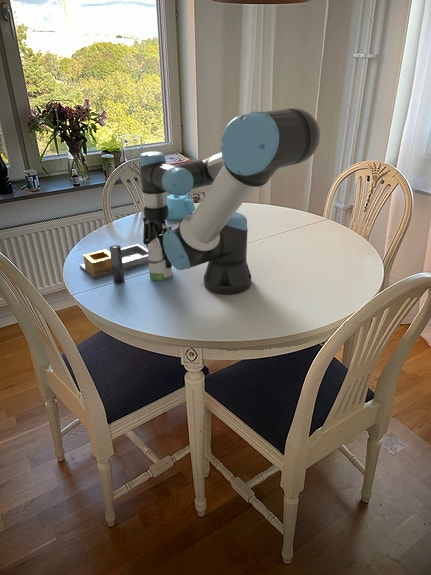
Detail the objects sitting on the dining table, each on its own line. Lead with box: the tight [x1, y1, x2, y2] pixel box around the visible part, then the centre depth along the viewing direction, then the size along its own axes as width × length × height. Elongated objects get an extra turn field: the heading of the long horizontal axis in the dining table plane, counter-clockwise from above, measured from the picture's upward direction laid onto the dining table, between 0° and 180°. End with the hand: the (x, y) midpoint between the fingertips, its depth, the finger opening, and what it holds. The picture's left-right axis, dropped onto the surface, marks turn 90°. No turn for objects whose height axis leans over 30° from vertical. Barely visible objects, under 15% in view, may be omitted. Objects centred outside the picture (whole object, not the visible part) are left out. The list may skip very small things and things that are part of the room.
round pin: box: [109, 244, 126, 285], centre depth 141 cm, size 3×3×12 cm
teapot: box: [165, 192, 196, 221], centre depth 197 cm, size 15×15×11 cm
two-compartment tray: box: [79, 243, 149, 281], centre depth 154 cm, size 12×23×5 cm, turn 126°
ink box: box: [146, 238, 167, 282], centre depth 144 cm, size 9×5×12 cm, turn 169°
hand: (160, 271), depth 147 cm, fingers closed on ink box, 9 cm apart
